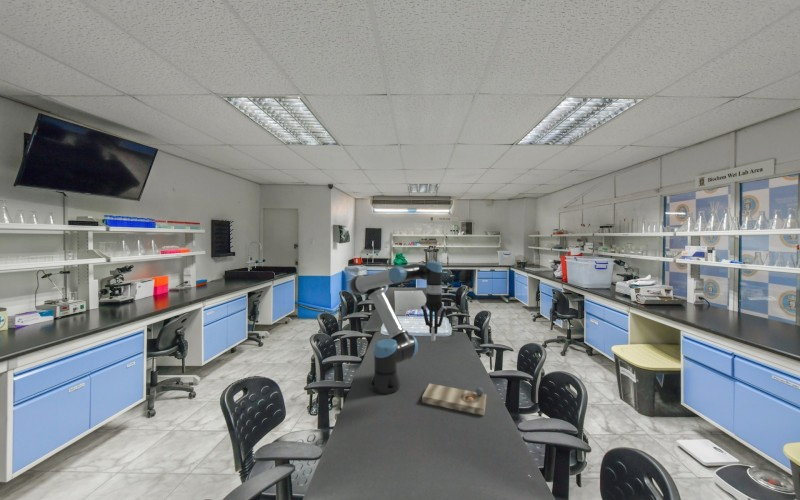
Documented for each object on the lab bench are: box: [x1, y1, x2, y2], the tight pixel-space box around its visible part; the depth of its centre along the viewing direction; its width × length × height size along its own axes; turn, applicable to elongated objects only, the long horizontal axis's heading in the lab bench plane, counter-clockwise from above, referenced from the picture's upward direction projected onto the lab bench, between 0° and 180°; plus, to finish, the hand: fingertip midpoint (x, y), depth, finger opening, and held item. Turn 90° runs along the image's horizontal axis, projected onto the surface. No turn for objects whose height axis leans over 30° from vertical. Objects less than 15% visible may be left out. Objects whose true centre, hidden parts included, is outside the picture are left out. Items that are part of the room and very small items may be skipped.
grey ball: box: [475, 387, 484, 396], centre depth 141 cm, size 4×4×4 cm
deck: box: [421, 383, 487, 417], centre depth 141 cm, size 28×13×3 cm, turn 70°
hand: (433, 339), depth 148 cm, fingers closed
